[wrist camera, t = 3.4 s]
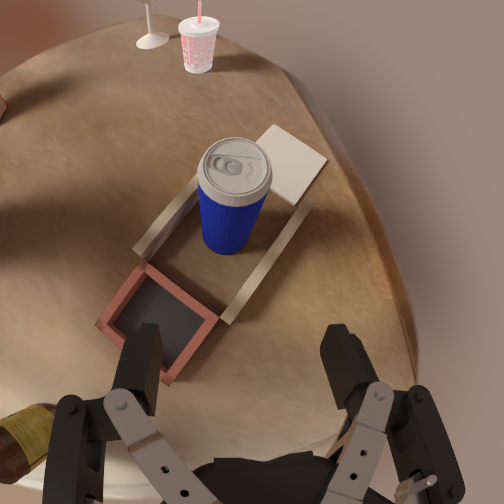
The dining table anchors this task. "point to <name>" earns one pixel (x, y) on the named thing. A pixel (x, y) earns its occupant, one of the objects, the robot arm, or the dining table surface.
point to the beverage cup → (198, 41)
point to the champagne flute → (151, 31)
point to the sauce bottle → (24, 441)
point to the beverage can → (232, 192)
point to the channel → (178, 212)
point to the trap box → (158, 317)
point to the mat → (290, 163)
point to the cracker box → (2, 107)
